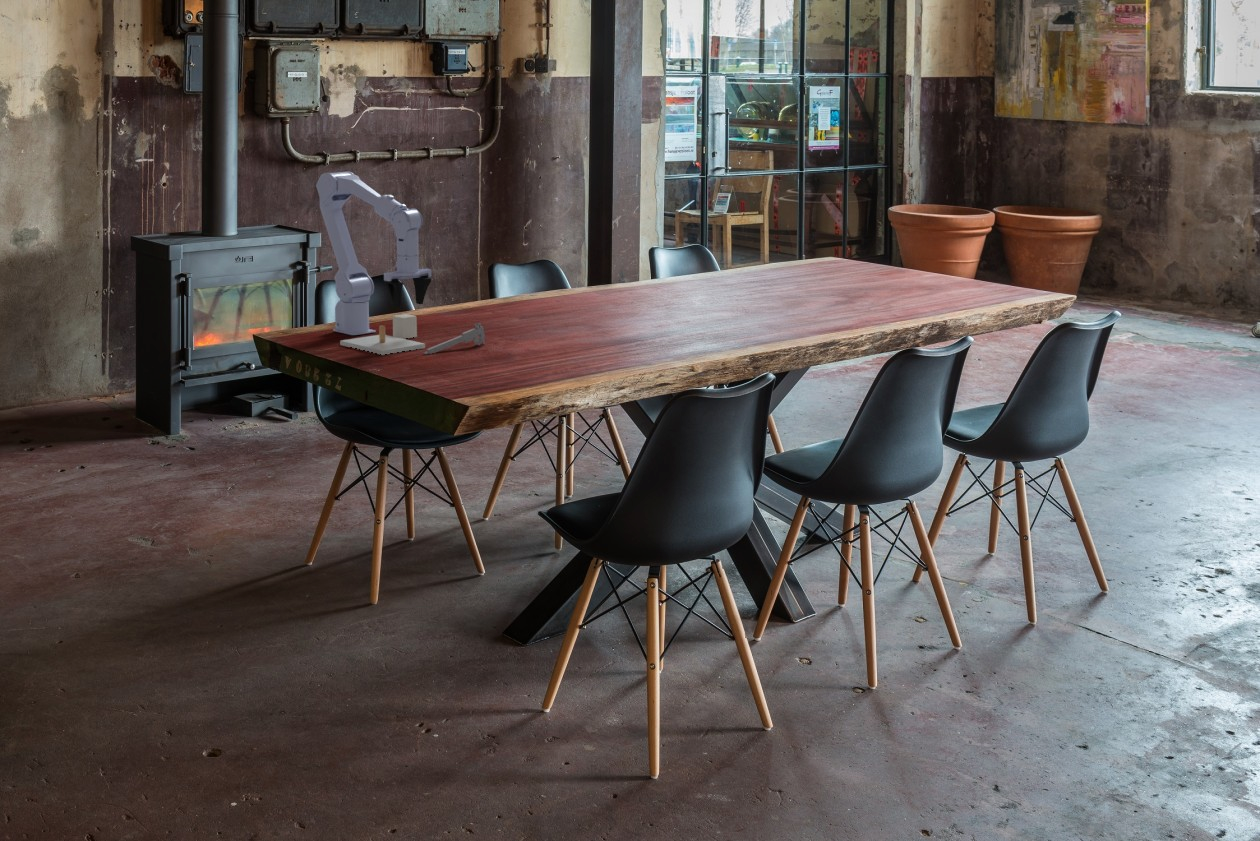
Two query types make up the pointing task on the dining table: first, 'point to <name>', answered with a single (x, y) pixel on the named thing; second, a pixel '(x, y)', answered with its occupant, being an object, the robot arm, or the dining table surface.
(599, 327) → the dining table surface
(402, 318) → the cream rectangular prism
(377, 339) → the light gray slab
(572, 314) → the dining table surface
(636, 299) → the dining table surface
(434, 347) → the caliper
